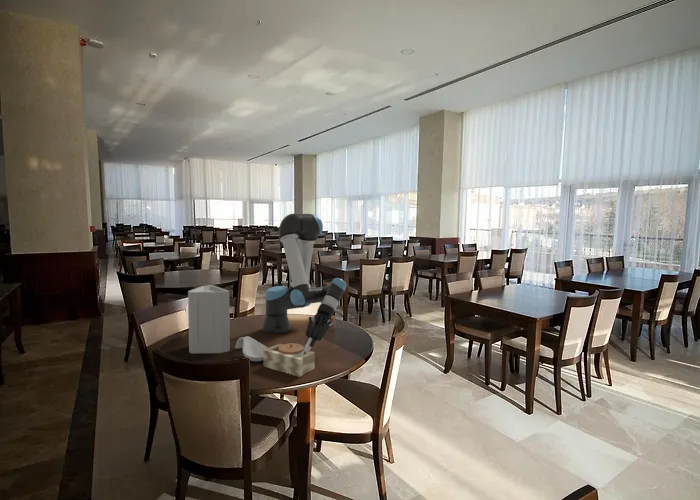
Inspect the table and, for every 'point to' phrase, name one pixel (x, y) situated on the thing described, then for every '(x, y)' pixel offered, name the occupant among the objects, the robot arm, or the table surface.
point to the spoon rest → (251, 348)
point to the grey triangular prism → (209, 320)
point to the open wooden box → (288, 361)
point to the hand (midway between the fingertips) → (305, 352)
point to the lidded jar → (292, 349)
